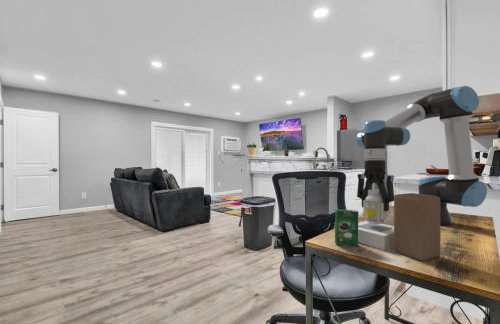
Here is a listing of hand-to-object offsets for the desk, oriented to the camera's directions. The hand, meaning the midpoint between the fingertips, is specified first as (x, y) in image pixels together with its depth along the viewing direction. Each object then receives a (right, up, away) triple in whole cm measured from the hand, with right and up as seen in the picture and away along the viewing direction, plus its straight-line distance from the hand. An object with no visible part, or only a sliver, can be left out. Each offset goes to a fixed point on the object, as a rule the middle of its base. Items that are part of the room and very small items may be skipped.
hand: (374, 217), depth 97 cm
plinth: (0, -9, 0) cm, 9 cm away
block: (+6, -9, -15) cm, 19 cm away
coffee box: (-13, -9, -5) cm, 17 cm away
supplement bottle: (0, -2, 0) cm, 2 cm away
